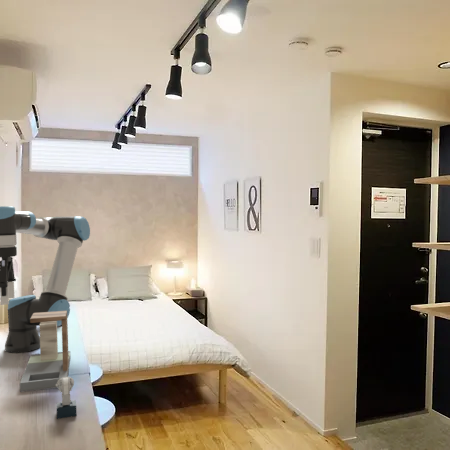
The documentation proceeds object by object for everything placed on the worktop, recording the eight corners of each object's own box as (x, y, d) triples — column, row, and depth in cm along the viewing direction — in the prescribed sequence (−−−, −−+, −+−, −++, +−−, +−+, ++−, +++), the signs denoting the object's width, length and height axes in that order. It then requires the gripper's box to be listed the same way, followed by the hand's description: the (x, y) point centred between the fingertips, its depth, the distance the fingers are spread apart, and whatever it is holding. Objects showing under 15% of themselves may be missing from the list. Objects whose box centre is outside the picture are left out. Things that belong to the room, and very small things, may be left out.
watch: (75, 407, 146) (74, 372, 146) (76, 418, 139) (75, 381, 138) (56, 410, 144) (55, 374, 144) (56, 421, 137) (55, 383, 136)
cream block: (41, 356, 188) (40, 321, 188) (57, 355, 190) (56, 320, 189) (40, 360, 183) (39, 324, 183) (57, 358, 185) (55, 323, 184)
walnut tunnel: (35, 365, 178) (33, 312, 177) (68, 362, 181) (67, 310, 181) (32, 374, 168) (30, 318, 168) (67, 370, 172) (65, 316, 171)
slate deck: (31, 362, 192) (31, 354, 192) (70, 358, 196) (70, 350, 196) (20, 391, 160) (19, 382, 160) (66, 386, 164) (66, 377, 164)
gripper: (1, 244, 192) (2, 296, 193) (-12, 249, 168) (-10, 308, 169) (20, 243, 194) (22, 295, 195) (11, 248, 170) (13, 306, 171)
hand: (7, 301), depth 182 cm, fingers open, 13 cm apart
